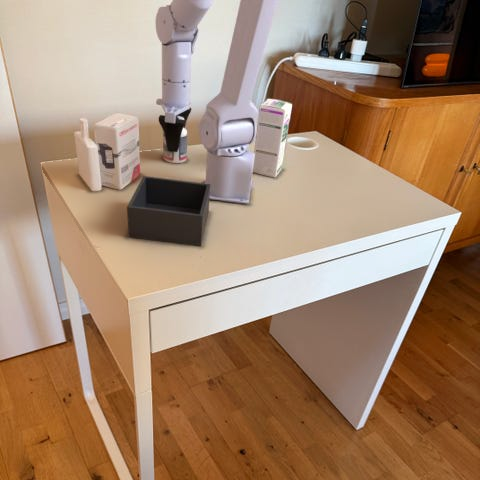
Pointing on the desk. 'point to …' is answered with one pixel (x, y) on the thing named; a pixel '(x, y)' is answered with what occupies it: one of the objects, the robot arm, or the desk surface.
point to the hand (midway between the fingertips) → (175, 146)
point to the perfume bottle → (87, 157)
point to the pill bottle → (182, 151)
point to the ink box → (118, 149)
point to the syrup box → (271, 136)
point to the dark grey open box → (169, 210)
